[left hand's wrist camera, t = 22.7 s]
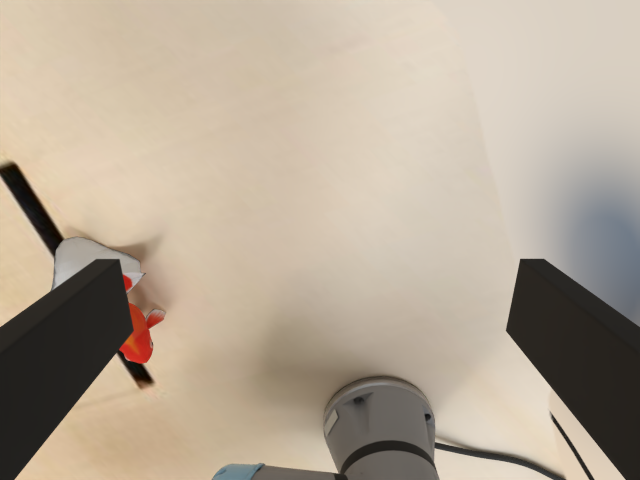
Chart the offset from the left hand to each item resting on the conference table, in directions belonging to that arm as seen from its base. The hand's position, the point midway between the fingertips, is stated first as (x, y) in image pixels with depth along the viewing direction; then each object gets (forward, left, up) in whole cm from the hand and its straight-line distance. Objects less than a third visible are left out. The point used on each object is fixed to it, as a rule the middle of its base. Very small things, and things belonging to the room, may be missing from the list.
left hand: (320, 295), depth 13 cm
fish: (+18, +21, -30) cm, 41 cm away
